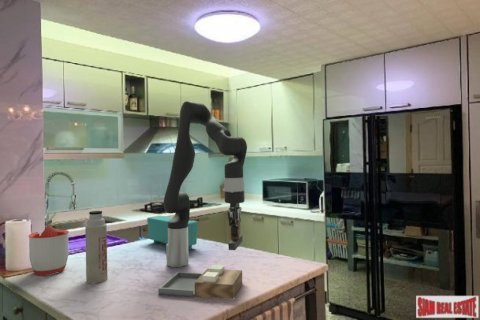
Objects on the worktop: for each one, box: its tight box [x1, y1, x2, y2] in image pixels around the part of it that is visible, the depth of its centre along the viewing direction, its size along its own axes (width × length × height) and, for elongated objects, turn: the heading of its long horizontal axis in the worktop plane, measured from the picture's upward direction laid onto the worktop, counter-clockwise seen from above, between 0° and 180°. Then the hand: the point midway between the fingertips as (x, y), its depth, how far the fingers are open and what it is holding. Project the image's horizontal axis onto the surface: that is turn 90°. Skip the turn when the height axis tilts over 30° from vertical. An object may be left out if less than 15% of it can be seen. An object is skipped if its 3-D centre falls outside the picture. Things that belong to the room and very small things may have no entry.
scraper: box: [227, 220, 244, 251], centre depth 130 cm, size 3×14×10 cm, turn 169°
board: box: [194, 267, 243, 300], centre depth 129 cm, size 14×16×5 cm
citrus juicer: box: [28, 226, 69, 277], centre depth 153 cm, size 16×17×20 cm
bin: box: [157, 271, 204, 299], centre depth 132 cm, size 13×18×2 cm
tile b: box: [210, 264, 225, 275], centre depth 133 cm, size 4×4×2 cm
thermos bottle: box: [84, 210, 109, 284], centre depth 141 cm, size 8×8×28 cm
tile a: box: [203, 272, 219, 282], centre depth 125 cm, size 4×4×2 cm
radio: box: [146, 215, 199, 251], centre depth 194 cm, size 34×10×15 cm, turn 49°
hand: (235, 235), depth 130 cm, fingers closed on scraper, 3 cm apart
